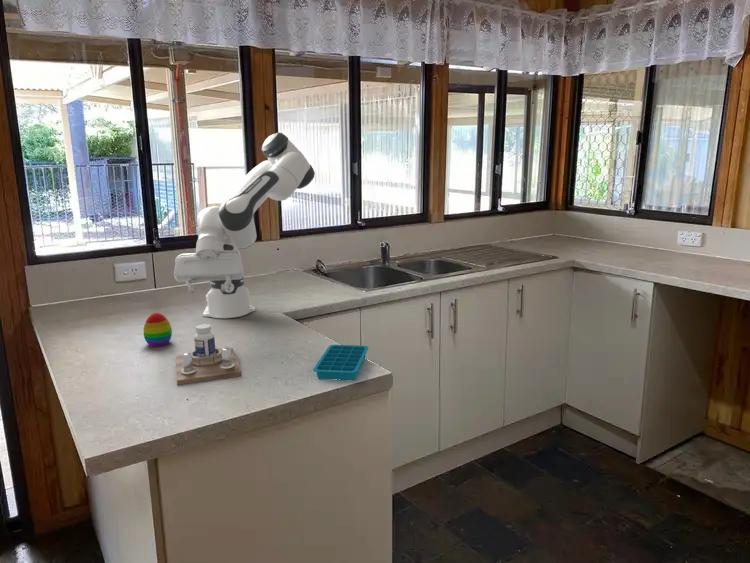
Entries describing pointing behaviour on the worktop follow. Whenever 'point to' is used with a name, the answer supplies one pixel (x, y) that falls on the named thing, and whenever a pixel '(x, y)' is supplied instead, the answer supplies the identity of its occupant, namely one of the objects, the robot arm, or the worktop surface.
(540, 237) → the worktop surface
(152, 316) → the decorative egg
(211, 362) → the board
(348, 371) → the ice cube tray
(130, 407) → the worktop surface
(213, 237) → the robot arm
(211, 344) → the pill bottle
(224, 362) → the steel pins
